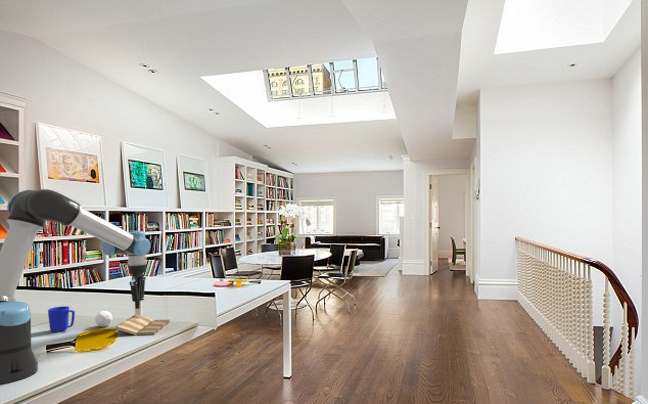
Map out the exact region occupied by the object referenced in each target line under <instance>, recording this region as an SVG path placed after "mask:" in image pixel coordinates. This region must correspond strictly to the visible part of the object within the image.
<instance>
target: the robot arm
mask: <svg viewBox="0 0 648 404" xmlns="http://www.w3.org/2000/svg"><path fill="white" fill-rule="evenodd" d="M6 209H7V212H8V216H7V219H6V222H7V223H8V226H9V228H8V231H7V233H6V236H5V238H4V241H3V242H2V246H1V248H0V384H7V383H12V382H17V381H19V380H24V379H25V378H28V377H30V376H33V375H35V374H36V373H37V372H38V371H39V363H38V361H37V359H36V356H35V354H34V351H33V349H32V319H31V318H32V312H31V307H30V305H29V304H28V303H27V302H24V301H17V300H16V298H15V297H14V296H15V293H16V290H17V287H18V285H19V282H20V279H21V276H22V273H23V271H24V268H25V265H26V263H27V260H28V258H29V254H30V252H31V250H32V248H33V244H34V241H35V239H36V235H37V233H38V232H40V231H42V230H44V227H45V225H46V223H47V222H53V223H58V224H60V225H62V226H64V227H68V226H71V227H73V228H75V229H77V230H79V231H82V232H83V233H86V234H88V235H90V236H92V237H94V238H96V239H98V240H100V241H102V244H101V245H102V246H101V248H102V249H101V250H102V253H104V255H106V256H115V255H120V256H121V255H122V256H123V255H124V256H127V257H128V258H127V261H128V262H127V264H128V274H130V275H132V276H131V281H129V286H130V293H131V299H132V303H133V302H134V315H140V316H142V315H143V301H144V300H145V298H144V297H145V287H146V286H145V285H146V284H145V283H146V279H147V278H146V276H144V273H147V264H146V263H147V259H148V258H147V256H146V255H147V254H148V253H149V252H150V250H151V242H150V240H149V239H147V238H146V234H145V232H144V231H141V230H139V231H126V230H124V229H123V228H121V227H118V226H117V225H115V224H113V223H111V222H110V221H108V220H105V218H102V217H99V216H98V215H96V214H95V213H93V212H90V211H88V210H87V209H85V208H82V204H81V203H79V202H78V201H76V200H74V199H72V198H69V197H67V196H66V195H64V194H63V193H60V192H59V191H55V190H52V189H48V188H47V189H46V188H44V189H41V188H40V189H26V190H23V191H19V192H17V193H15V194H13V195H12V196H11V197H10V198H9V200H8V201H7V205H6Z"/></svg>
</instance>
